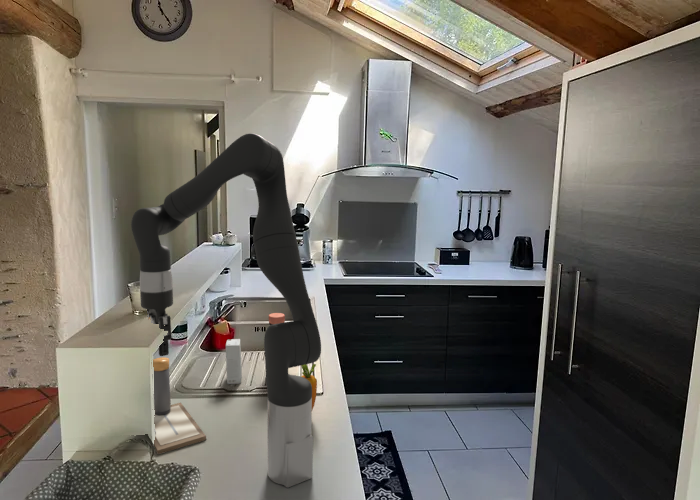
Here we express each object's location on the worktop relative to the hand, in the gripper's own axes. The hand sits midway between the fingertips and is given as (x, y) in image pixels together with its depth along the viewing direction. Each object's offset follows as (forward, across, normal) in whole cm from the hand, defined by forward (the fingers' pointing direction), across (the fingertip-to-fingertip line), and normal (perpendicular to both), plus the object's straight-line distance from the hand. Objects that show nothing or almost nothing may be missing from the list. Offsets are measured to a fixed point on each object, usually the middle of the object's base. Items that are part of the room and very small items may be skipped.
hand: (159, 350), depth 122 cm
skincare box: (+18, +11, -24) cm, 32 cm away
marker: (+17, 0, 0) cm, 17 cm away
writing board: (+18, -7, 0) cm, 19 cm away
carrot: (+18, -21, -31) cm, 42 cm away
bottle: (+18, +6, -36) cm, 41 cm away
